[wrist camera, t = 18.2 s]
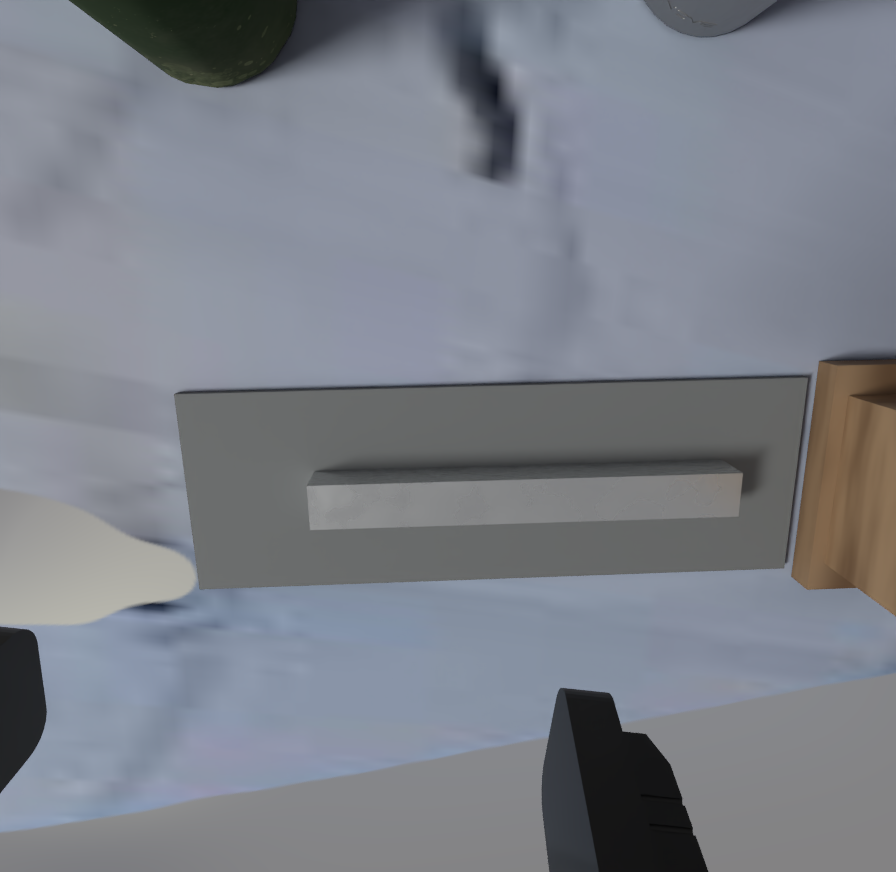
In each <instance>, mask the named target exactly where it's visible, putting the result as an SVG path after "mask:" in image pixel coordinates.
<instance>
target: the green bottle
mask: <svg viewBox="0 0 896 872" xmlns="http://www.w3.org/2000/svg"><path fill="white" fill-rule="evenodd" d="M69 1H70V2H72V3H73V4H75V5H76V6H77V7H79V8H80V9H81V10H83V11H84V12H85V13H87V14H88V15H89V16H91V17H92V18H93V19H95V20H96V21H97V22H99V23H100V24H101V25H103V26H104V27H105V28H107V29H108V30H109V31H111V32H112V33H113V34H115V35H116V36H117V37H119V38H120V39H121V40H123V41H124V42H125V43H127V44H128V45H129V46H131V47H132V48H133V49H135V50H136V51H137V52H139V53H140V54H141V55H143V56H144V57H145V58H147V59H148V60H149V61H151V62H152V63H153V64H155V65H156V66H157V67H159V68H160V69H161V70H163V71H164V72H165V73H167V74H168V75H170V76H171V77H173V78H176V79H178V80H180V81H183V82H185V83H189V84H196V85H203V86H209V87H216V88H219V87H226V86H233V85H236V84H238V83H240V82H242V81H244V80H246V79H248V78H251V77H253V76H255V75H257V74H259V73H261V72H262V71H264V70H265V69H266V68H267V67H268V66H269V65H270V64H271V63H273V61H274V60H275V58H276V57H277V55H278V54H279V52H280V50H281V49H282V47H283V46H284V44H285V42H286V41H287V39H288V38H289V36H290V35H291V32H292V28H293V25H294V22H295V19H296V8H297V0H69Z"/></svg>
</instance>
